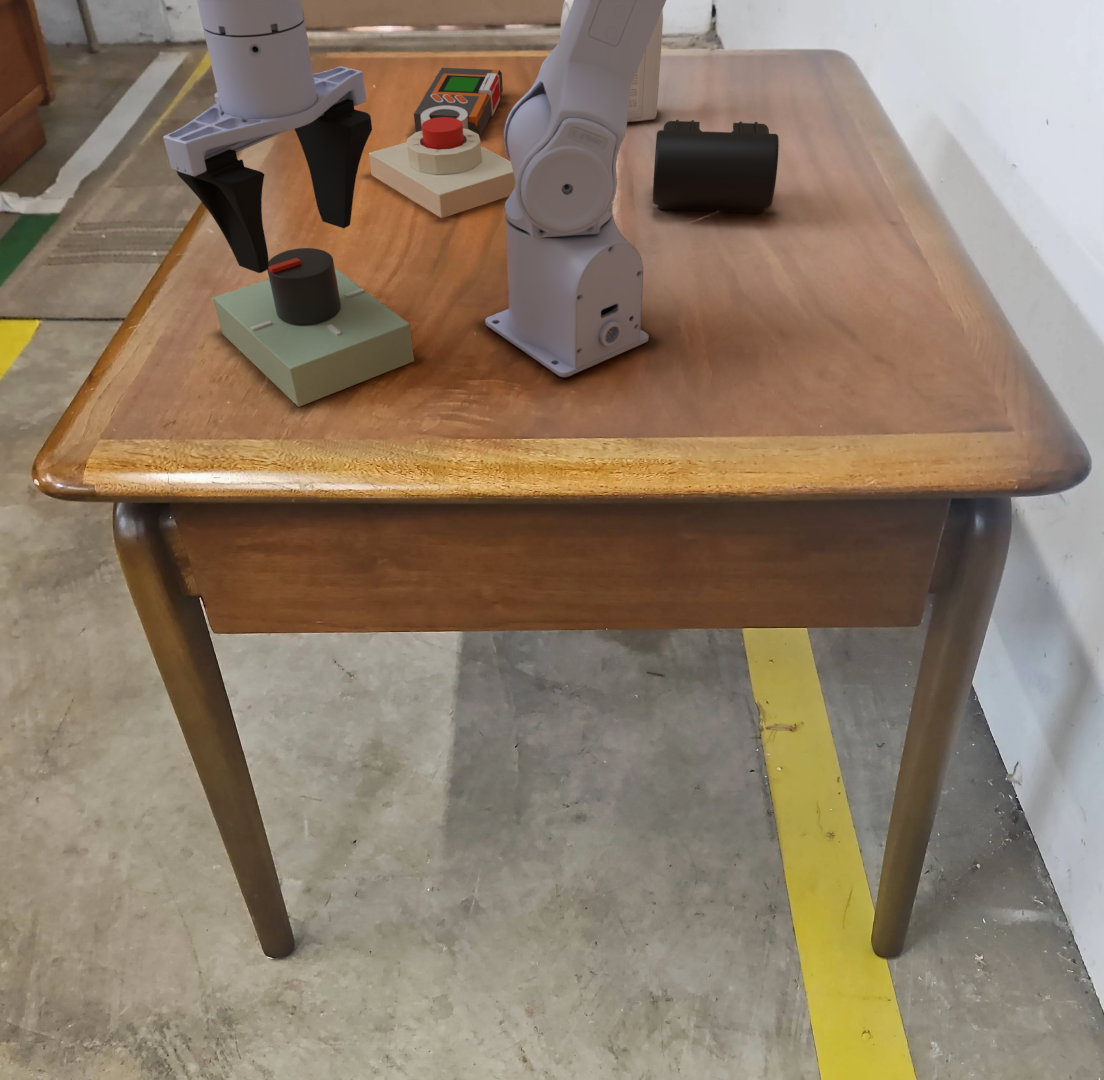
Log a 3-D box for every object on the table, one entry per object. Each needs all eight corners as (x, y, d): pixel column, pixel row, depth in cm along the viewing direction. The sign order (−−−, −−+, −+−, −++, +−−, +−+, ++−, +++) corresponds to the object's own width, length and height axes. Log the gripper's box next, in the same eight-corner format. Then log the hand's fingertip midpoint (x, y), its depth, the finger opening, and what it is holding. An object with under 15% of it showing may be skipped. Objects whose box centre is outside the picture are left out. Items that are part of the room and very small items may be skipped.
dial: (322, 287, 73) (313, 237, 70) (352, 311, 70) (344, 260, 68) (265, 307, 71) (254, 256, 68) (295, 332, 68) (284, 280, 66)
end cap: (651, 223, 87) (655, 144, 83) (654, 189, 92) (658, 112, 88) (769, 228, 86) (780, 148, 82) (766, 193, 91) (776, 116, 87)
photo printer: (650, 107, 108) (657, -23, 99) (662, 121, 105) (670, -12, 96) (555, 116, 106) (554, -15, 98) (565, 131, 103) (565, -4, 95)
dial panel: (414, 361, 71) (409, 321, 69) (298, 407, 67) (289, 366, 65) (331, 295, 78) (324, 257, 76) (221, 334, 74) (211, 294, 72)
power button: (471, 145, 91) (470, 125, 90) (437, 155, 89) (436, 134, 88) (449, 133, 93) (447, 113, 92) (415, 142, 92) (413, 123, 90)
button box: (525, 192, 92) (523, 147, 90) (441, 219, 88) (437, 173, 85) (451, 152, 99) (448, 110, 97) (371, 176, 95) (365, 132, 93)
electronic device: (407, 120, 99) (442, 62, 110) (410, 149, 101) (444, 90, 112) (475, 123, 98) (503, 65, 109) (477, 153, 100) (505, 93, 111)
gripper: (294, -16, 65) (328, 192, 74) (104, 43, 56) (169, 272, 65) (378, 0, 61) (403, 215, 71) (191, 66, 53) (246, 302, 62)
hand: (296, 244), depth 67 cm, fingers open, 7 cm apart
